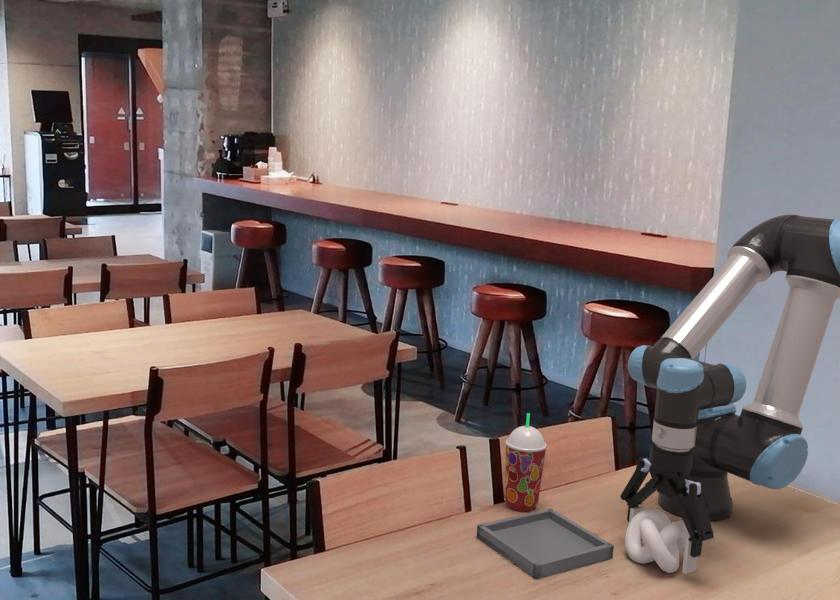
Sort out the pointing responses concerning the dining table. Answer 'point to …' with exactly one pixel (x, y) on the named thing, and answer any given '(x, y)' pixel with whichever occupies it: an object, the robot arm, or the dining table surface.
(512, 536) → the tray
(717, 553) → the dining table surface
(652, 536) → the white trefoil knot
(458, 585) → the dining table surface
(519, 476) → the smoothie
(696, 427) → the robot arm
